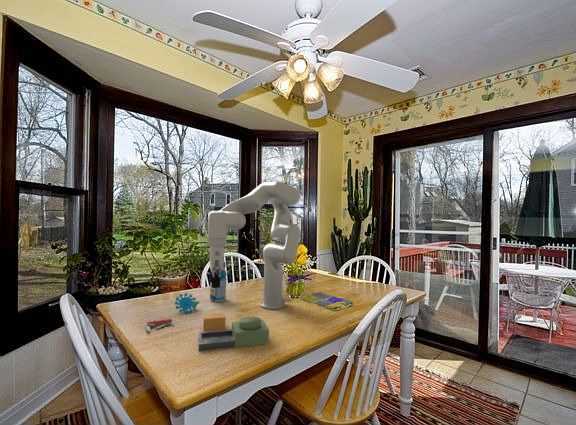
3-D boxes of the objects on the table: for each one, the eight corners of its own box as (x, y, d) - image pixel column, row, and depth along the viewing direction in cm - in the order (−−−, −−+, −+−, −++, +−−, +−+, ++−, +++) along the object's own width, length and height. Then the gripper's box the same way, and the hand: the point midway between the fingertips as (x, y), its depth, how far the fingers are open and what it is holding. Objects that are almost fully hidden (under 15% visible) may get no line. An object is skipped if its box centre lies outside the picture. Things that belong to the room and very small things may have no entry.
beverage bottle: (222, 302, 148) (223, 263, 148) (206, 301, 149) (208, 262, 149) (228, 298, 156) (229, 261, 156) (213, 296, 158) (214, 260, 158)
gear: (174, 312, 128) (175, 291, 134) (171, 318, 131) (172, 298, 138) (200, 312, 133) (199, 292, 139) (196, 318, 136) (196, 299, 143)
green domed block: (262, 332, 113) (263, 314, 113) (268, 343, 104) (269, 324, 104) (231, 335, 110) (232, 316, 110) (234, 347, 100) (235, 327, 100)
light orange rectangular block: (224, 324, 120) (224, 312, 120) (225, 330, 115) (225, 317, 115) (203, 325, 118) (203, 313, 118) (203, 331, 112) (203, 318, 112)
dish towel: (333, 312, 140) (333, 307, 140) (299, 300, 159) (299, 295, 159) (355, 306, 152) (355, 301, 152) (321, 295, 170) (321, 290, 170)
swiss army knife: (174, 318, 126) (175, 313, 126) (179, 329, 114) (179, 324, 114) (145, 321, 120) (145, 317, 120) (147, 334, 108) (147, 328, 108)
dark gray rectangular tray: (231, 335, 110) (231, 329, 110) (234, 347, 100) (235, 340, 100) (198, 338, 106) (198, 332, 106) (198, 351, 96) (198, 344, 96)
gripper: (228, 244, 109) (226, 289, 109) (224, 240, 126) (222, 279, 125) (208, 244, 107) (205, 290, 107) (206, 239, 123) (204, 280, 123)
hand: (214, 284), depth 116 cm, fingers open, 9 cm apart
